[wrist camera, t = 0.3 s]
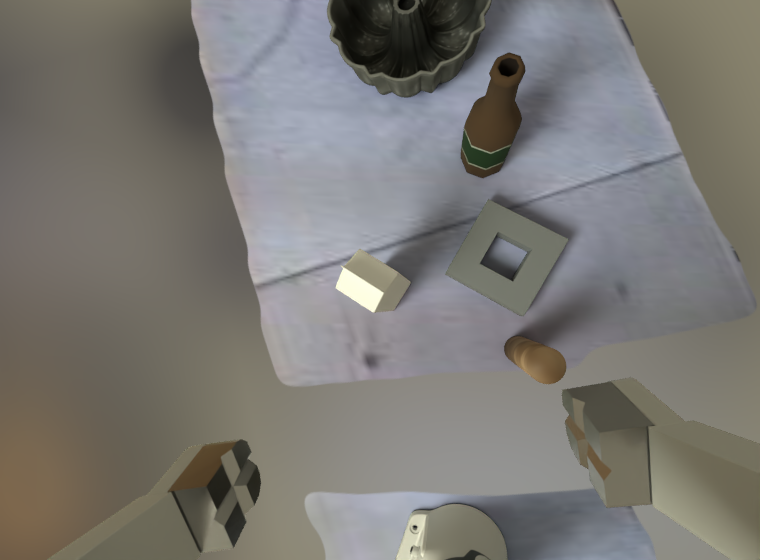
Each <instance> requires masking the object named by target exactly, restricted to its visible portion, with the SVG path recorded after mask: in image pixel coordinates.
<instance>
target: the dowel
mask: <svg viewBox="0 0 760 560" xmlns="http://www.w3.org/2000/svg"><path fill="white" fill-rule="evenodd" d="M504 351H505V354H506V356H507V358H508V359H510V360H511V361H512V362H513V363H515V364H516V365H517V366H518V367H520V368H521V369H522V370H524V371H525V372H526V373H527V374H529V375H530V376H531V377H533V378H534V379H535V380H536V381H538V382H540V383H543V384H552V383H556V382H558V381H559V380H560V379H561V378H562V377H563V376H564V374H565V372H566V362H565V359H564V357H563V356H562V354H561V353H560V352H558V351H557V350H555V349H553V348H550V347H548V346H545V345H542V344H540V343H537V342H535V341H532V340H529V339H527V338H524V337H521V336H514V337H511V338H510V339H508V340H507V342H506V343H505V346H504Z"/></svg>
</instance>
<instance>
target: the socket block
mask: <svg viewBox="0 0 760 560" xmlns="http://www.w3.org/2000/svg"><path fill="white" fill-rule="evenodd" d="M495 236H498V237H499V238H501V239H503V240H505V241H507V242H509V243H511V244H513V245H515V246H517V247H519V248H521V249H523V250H525V251H527V254H526V256H525V258H524V259H523V261H522V263H521V264H520V266H519V268H518V270H517V271H516V273H515V275H514V276H513V278H512V280H509V279H507V278H505V277H503V276H502V275H500V274H498V273H496V272H494V271H492V270H490V269H489V268H487V267H485V266H483V265H481V264H480V262H481V260H482V258H483V257H484V255H485V253H486V252H487V250H488V248H489V246H490V245H491V243H492V241H493V240H494V238H495ZM568 240H569V239H567V238H565V237H563V236H561V235H559V234H557V233H555V232H553V231H551V230H549V229H547V228H545V227H543V226H541V225H539V224H537V223H535V222H533V221H531V220H529V219H527V218H525V217H523V216H521V215H519V214H517V213H515V212H513V211H511V210H509V209H507V208H505V207H503V206H501V205H499V204H497V203H495V202H493V201H491V200H489V199H488V201H487V202H486V204H485V206H484V207H483V209H482V211H481V213H480V214H479V216H478V218H477V219H476V221H475V223H474V225H473V226H472V228H471V230H470V232H469V233H468V235H467V237H466V238H465V240H464V242H463V244H462V245H461V247H460V249H459V251H458V252H457V254H456V256H455V257H454V259H453V261H452V263H451V264H450V266H449V268H448V270H447V271H446V273H445V275H447V276H449V277H451V278H453V279H454V280H456V281H458V282H460V283H462V284H463V285H465V286H467V287H469V288H471V289H472V290H474V291H476V292H478V293H480V294H481V295H483V296H485V297H487V298H489V299H490V300H492V301H494V302H496V303H498V304H499V305H501V306H503V307H505V308H507V309H508V310H510V311H512V312H514V313H516V314H517V315H519V316H524V315H525V313H526V311H527V310H528V308H529V306H530V305H531V303H532V301H533V299H534V298H535V296H536V294H537V293H538V291H539V289H540V288H541V286H542V284H543V282H544V281H545V279H546V277H547V276H548V274H549V272H550V270H551V269H552V267H553V265H554V264H555V262H556V260H557V259H558V257H559V255H560V253H561V252H562V250H563V248H564V247H565V245H566V243H567V242H568Z"/></svg>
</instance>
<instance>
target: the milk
mask: <svg viewBox="0 0 760 560" xmlns="http://www.w3.org/2000/svg"><path fill="white" fill-rule="evenodd" d="M341 267H343V270H342V273H341V275H340V278H339V280H338V283H337V285H336V289H338V290H339V291H341V292H342V293H344V294H345V295H347V296H348V297H350V298H352V299H353V300H355V301H356V302H358V303H359V304H361V305H362V306H364V307H365V308H367V309H368V310H370V311H372V312H373V313H376V312H386V311H394V309H395V308H396V306H397V305H398V303H399V301H400V300H401V298H402V297H403V295H404V293H405V292H406V290H407V288H408V287H409V285H410V284H411V282H410V281H409V280H408V279H406V278H405V277H404V276H402V275H401V274H400V273H399V272H397V271H395V270H394V269H392V268H391V267H389V266H387V265H386V264H384V263H382V262H381V261H379V260H378V259H376V258H374V257H373V256H371V255H369V254H368V253H366V252H365V251H363V250H361V249H359V250H358V251H357V252H356V253H355V254H354V256H353V257H352V258H351V259H350V260H349V261H348V263H347V264H346V265H345V266H341Z"/></svg>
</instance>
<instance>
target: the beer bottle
mask: <svg viewBox="0 0 760 560" xmlns="http://www.w3.org/2000/svg"><path fill="white" fill-rule="evenodd" d="M524 73H525V65H524V63H523V61H522V59H521V56H519V55H515V54H512V53H507V54H505V55H502V56H500V57H498V58H497V59H496V61H495V62H494V64H493V66H492V69H491V71H490V73H489V74H490V77H491V80H490V83H489V86H488V89H487V92H486V95H485V96H484V97H481V98H479V99H478V100H477V101H476V102H475V103H474V105H473V107H472V109H471V111H470V114H469V116H468V118H467V120H466V123H465V126H464V133H463V140H462V148H461V159H462V162H463V164H464V167H465V169H466V171H467V173H470V174H473V175H475V176H478V177H480V178H484V177H487V176H489V175H492V174H494V173H497V172H499V171H500V169H501V167H502V165H503V163H504V161H505V158H506V156H507V154H508V152H509V150H510V147H511V145H512V143H513V140H514V138H515V136H516V134H517V131H518V129H519V127H520V124H521V121H522V117H521V113H520V111H519V109H518V106H517V104H516V102H515V97H516V93H517V89H518V85H519V83H520V82H521V80H522V77H523V75H524Z"/></svg>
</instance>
